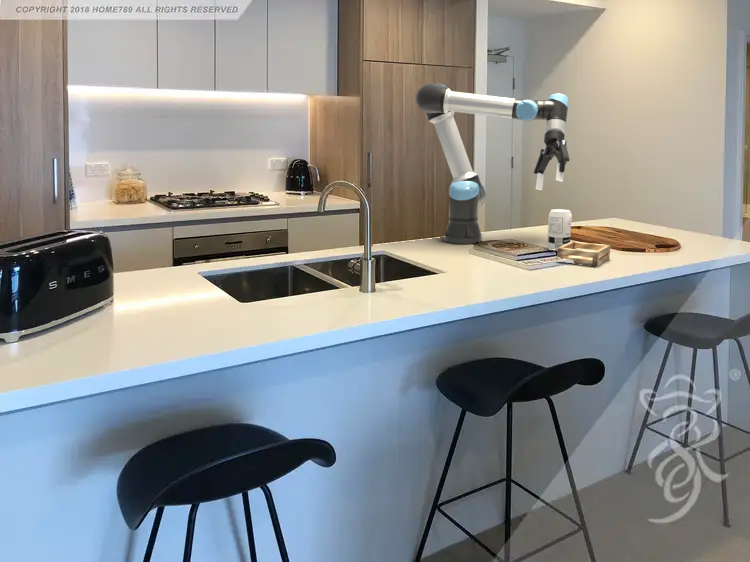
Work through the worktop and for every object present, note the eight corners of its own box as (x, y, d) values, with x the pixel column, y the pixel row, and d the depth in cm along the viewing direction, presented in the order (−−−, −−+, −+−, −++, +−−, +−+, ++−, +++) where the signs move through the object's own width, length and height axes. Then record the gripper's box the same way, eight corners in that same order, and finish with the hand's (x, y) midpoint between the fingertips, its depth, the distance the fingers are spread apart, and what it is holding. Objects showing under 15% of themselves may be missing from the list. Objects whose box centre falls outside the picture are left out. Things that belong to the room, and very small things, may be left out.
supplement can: (544, 248, 267) (546, 209, 263) (565, 247, 267) (567, 208, 264) (551, 252, 259) (553, 212, 255) (572, 251, 260) (575, 211, 256)
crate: (556, 262, 243) (557, 248, 242) (570, 254, 254) (571, 241, 253) (596, 267, 236) (597, 252, 234) (609, 259, 247) (610, 245, 245)
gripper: (582, 125, 259) (576, 179, 256) (544, 145, 283) (538, 195, 279) (565, 120, 257) (559, 174, 253) (528, 140, 280) (522, 190, 276)
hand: (548, 185), depth 266 cm, fingers open, 13 cm apart
